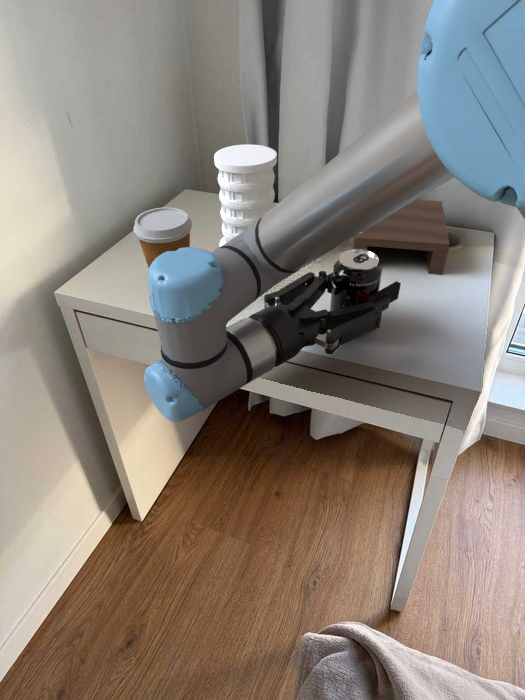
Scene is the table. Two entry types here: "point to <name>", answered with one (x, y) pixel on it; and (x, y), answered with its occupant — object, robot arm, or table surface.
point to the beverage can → (354, 278)
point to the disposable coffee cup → (162, 231)
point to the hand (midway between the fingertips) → (377, 279)
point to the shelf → (412, 232)
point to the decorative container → (244, 186)
